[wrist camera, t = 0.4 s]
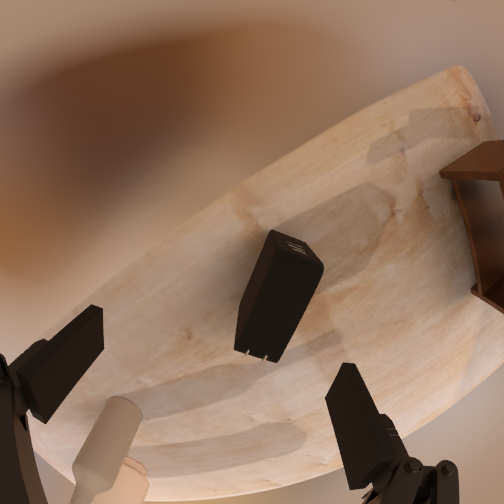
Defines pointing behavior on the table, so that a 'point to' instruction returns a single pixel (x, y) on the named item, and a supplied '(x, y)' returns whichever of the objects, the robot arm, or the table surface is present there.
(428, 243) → the table surface
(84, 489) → the bottle
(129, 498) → the vase
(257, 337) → the electronic device
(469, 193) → the shelf
